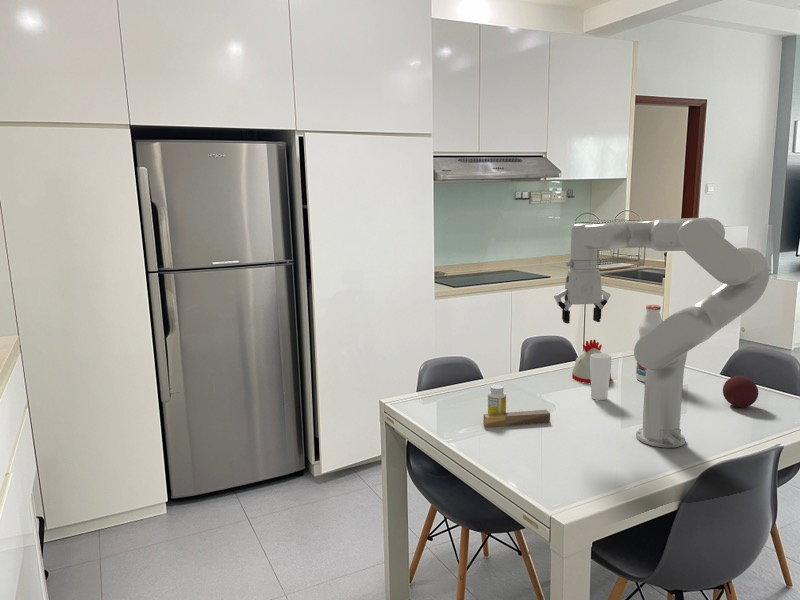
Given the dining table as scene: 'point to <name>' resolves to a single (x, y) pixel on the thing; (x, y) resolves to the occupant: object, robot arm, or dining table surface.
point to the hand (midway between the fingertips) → (581, 322)
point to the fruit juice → (647, 324)
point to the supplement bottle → (496, 400)
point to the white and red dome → (585, 362)
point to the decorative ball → (740, 391)
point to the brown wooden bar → (516, 418)
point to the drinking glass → (600, 375)
